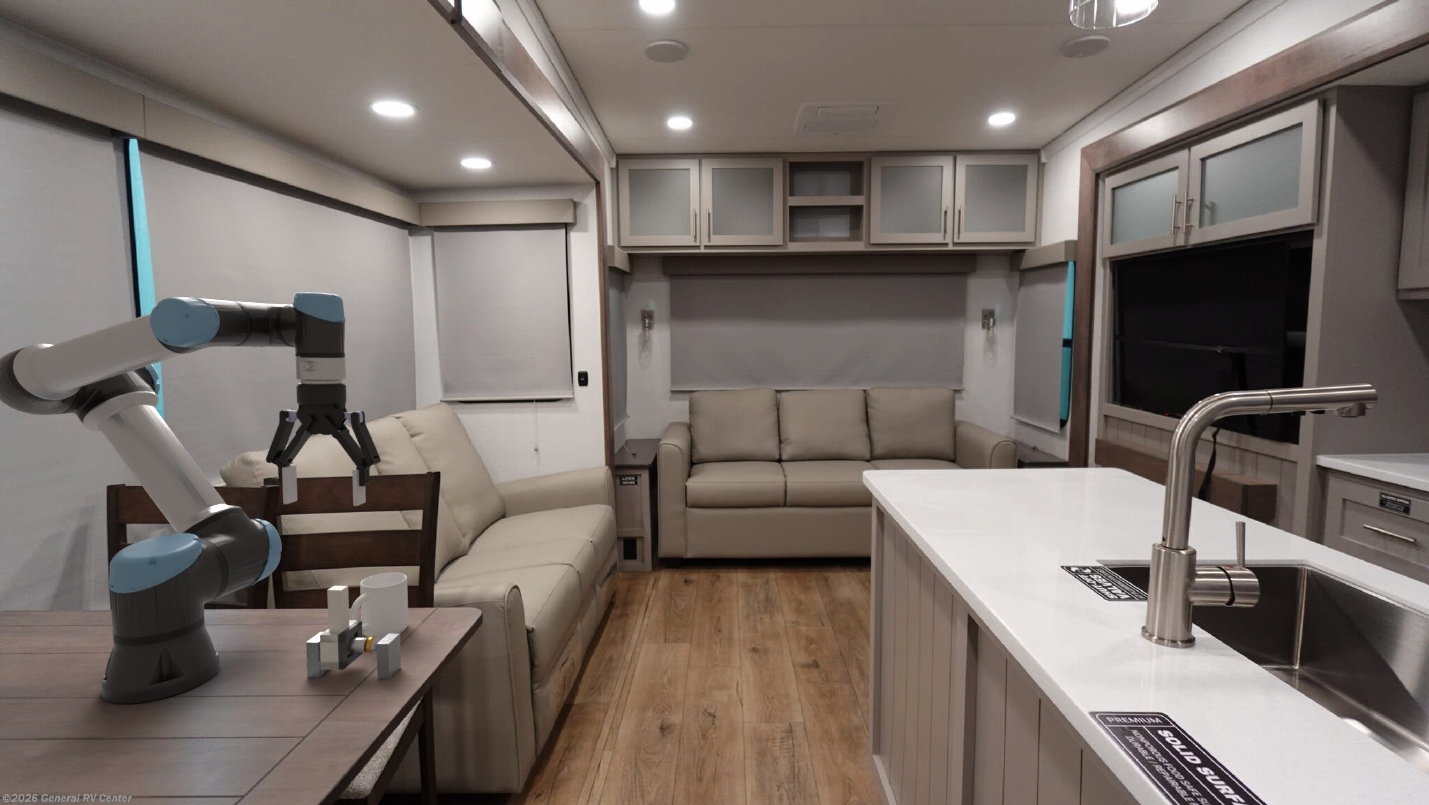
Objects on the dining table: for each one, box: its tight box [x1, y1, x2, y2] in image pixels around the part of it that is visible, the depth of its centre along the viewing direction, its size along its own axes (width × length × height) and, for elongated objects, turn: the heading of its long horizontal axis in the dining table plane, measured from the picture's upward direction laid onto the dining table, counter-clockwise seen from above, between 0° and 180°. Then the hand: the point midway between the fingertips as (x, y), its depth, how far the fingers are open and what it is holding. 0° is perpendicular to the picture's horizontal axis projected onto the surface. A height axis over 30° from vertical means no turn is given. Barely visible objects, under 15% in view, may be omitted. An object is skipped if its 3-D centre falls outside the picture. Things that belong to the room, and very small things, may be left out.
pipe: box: [305, 631, 402, 680], centre depth 113 cm, size 14×4×6 cm, turn 89°
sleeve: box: [320, 585, 364, 671], centre depth 113 cm, size 4×6×13 cm, turn 179°
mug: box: [349, 572, 409, 638], centre depth 128 cm, size 12×8×10 cm
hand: (325, 503), depth 117 cm, fingers open, 12 cm apart
